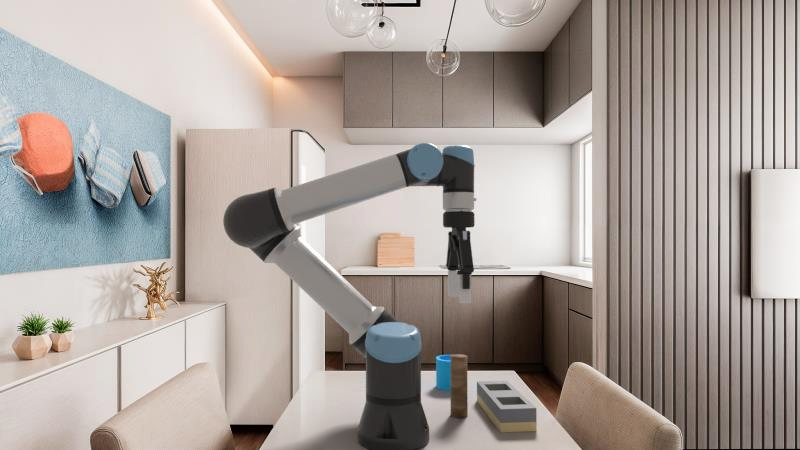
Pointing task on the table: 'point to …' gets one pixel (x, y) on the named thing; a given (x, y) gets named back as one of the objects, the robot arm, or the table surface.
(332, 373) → the table surface
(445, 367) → the mug
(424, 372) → the table surface
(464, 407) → the peg
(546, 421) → the table surface
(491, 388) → the rail
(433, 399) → the table surface
